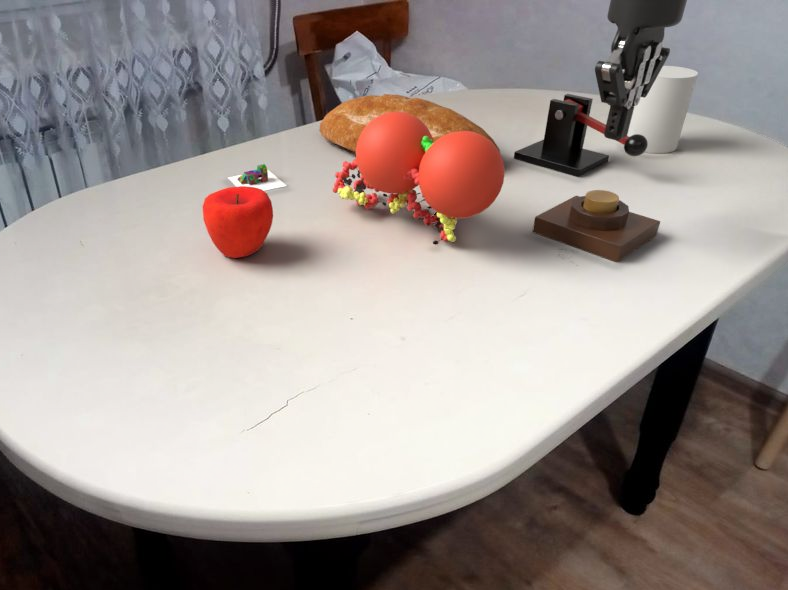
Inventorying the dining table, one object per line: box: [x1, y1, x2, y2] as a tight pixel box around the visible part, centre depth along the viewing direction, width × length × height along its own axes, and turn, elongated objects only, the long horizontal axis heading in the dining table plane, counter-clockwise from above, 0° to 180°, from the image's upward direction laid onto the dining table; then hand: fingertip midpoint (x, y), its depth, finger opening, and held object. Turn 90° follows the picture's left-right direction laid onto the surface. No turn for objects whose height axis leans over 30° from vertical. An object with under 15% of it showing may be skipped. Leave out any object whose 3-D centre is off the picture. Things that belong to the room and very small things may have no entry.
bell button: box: [583, 189, 620, 214], centre depth 84 cm, size 4×4×2 cm
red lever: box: [565, 99, 648, 158], centre depth 101 cm, size 15×3×3 cm, turn 42°
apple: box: [202, 186, 274, 259], centre depth 83 cm, size 9×9×8 cm
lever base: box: [513, 93, 610, 178], centre depth 106 cm, size 12×9×10 cm
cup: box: [627, 65, 699, 154], centre depth 110 cm, size 8×8×12 cm
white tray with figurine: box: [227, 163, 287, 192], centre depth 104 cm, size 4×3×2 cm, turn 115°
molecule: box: [332, 112, 506, 246], centre depth 86 cm, size 25×11×15 cm, turn 48°
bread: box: [318, 93, 501, 154], centre depth 112 cm, size 18×35×9 cm, turn 51°
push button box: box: [532, 195, 661, 263], centre depth 85 cm, size 12×10×4 cm
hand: (614, 137), depth 79 cm, fingers closed
